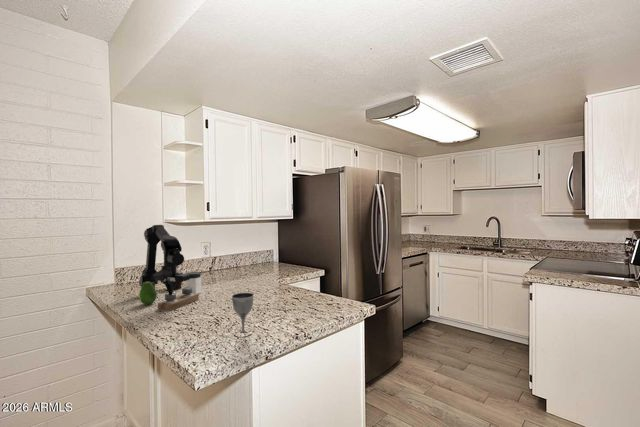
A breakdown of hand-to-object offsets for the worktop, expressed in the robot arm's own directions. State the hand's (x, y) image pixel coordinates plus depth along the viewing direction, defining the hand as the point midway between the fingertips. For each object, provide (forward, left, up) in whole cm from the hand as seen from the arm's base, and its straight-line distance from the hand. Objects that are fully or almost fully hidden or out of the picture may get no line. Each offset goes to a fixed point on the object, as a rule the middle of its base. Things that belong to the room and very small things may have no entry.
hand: (170, 294), depth 153 cm
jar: (-8, +27, -7) cm, 29 cm away
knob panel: (0, +6, -7) cm, 9 cm away
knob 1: (0, 0, -3) cm, 3 cm away
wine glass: (+53, -21, -7) cm, 57 cm away
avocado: (-15, +2, -7) cm, 17 cm away
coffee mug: (-28, +34, -7) cm, 45 cm away
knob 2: (0, +12, -3) cm, 12 cm away
